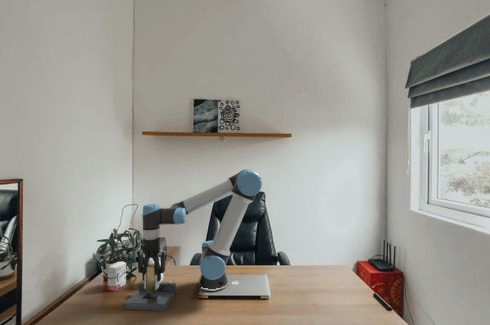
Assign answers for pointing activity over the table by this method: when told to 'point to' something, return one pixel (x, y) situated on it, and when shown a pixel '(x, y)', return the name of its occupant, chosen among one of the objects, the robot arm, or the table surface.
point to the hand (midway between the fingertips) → (151, 287)
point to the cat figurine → (160, 266)
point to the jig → (162, 296)
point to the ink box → (116, 276)
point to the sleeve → (151, 278)
